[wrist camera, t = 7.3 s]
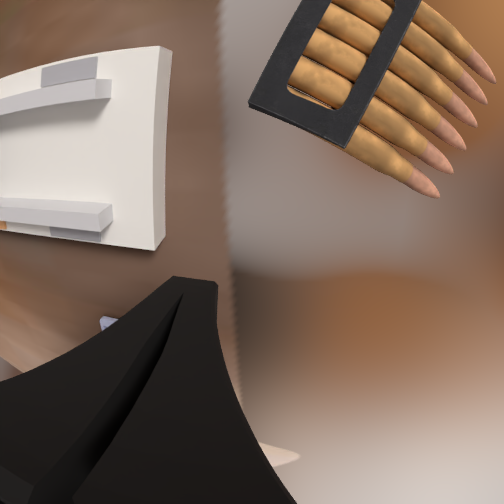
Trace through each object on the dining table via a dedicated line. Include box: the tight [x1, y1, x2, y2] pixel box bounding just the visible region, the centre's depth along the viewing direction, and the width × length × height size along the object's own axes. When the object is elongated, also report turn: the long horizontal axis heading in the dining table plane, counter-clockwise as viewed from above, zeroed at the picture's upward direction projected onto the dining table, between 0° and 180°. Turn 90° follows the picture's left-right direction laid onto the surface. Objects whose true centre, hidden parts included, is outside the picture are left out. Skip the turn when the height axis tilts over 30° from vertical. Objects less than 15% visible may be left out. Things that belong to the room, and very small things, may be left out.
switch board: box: [0, 46, 173, 251], centre depth 14 cm, size 11×18×4 cm, turn 84°
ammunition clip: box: [248, 0, 496, 198], centre depth 12 cm, size 11×2×12 cm
